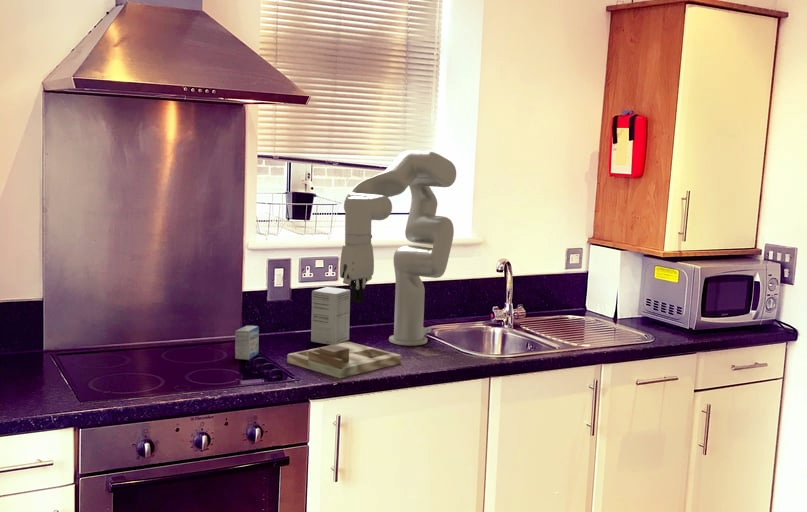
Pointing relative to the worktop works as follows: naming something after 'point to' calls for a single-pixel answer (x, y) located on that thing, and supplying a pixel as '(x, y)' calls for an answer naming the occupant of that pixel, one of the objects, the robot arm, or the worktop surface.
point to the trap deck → (335, 366)
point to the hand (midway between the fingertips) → (357, 301)
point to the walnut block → (336, 352)
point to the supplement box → (330, 315)
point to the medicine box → (246, 342)
